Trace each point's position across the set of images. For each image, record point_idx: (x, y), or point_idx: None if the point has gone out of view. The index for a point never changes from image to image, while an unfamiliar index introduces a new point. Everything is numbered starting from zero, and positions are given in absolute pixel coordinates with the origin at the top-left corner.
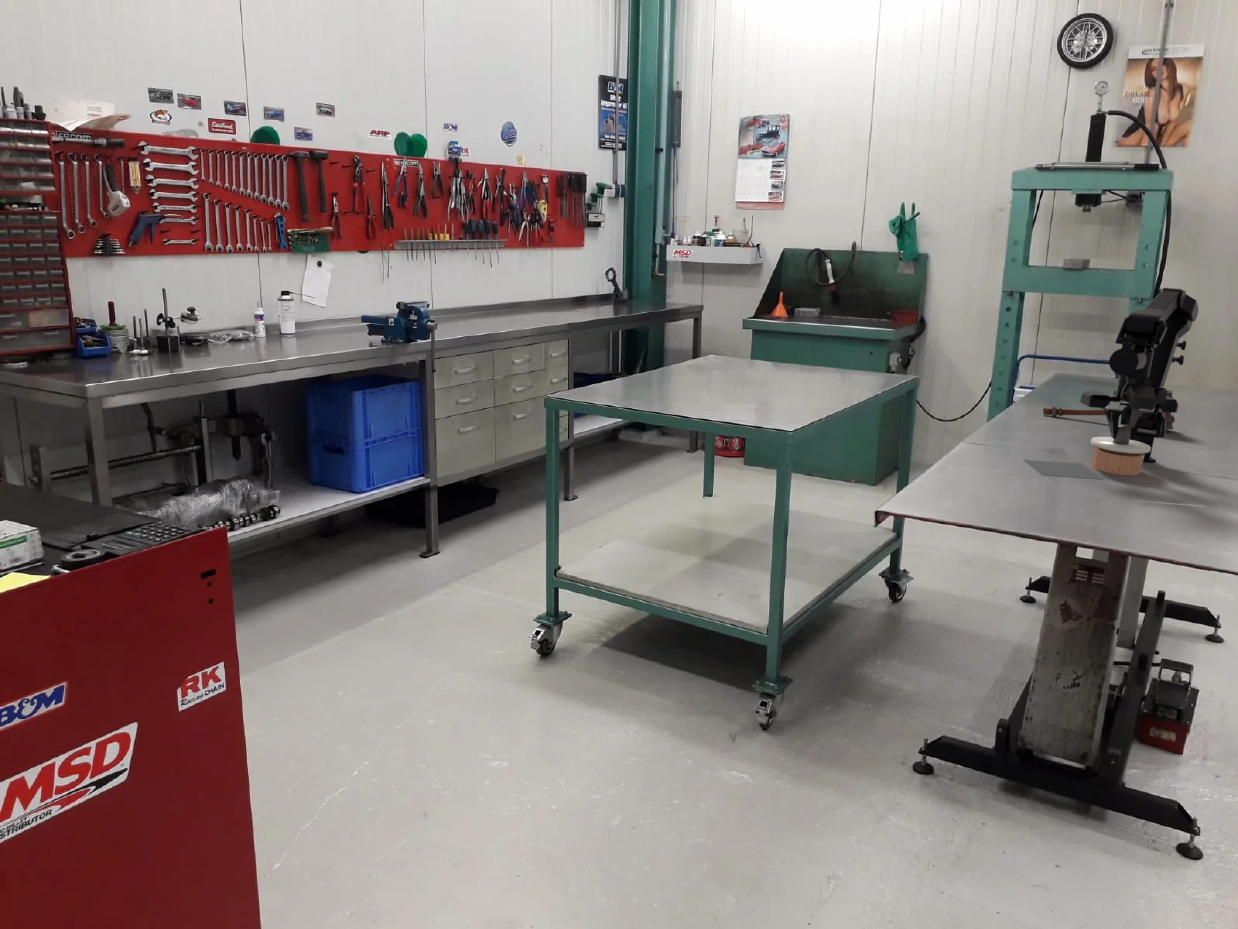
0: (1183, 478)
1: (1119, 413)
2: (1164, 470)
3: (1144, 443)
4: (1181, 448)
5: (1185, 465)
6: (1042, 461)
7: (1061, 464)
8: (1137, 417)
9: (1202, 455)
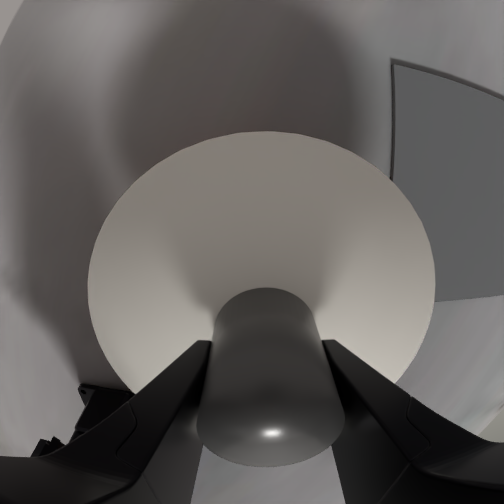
0: (32, 206)
1: (498, 473)
2: (66, 304)
3: (107, 356)
4: None
5: (20, 363)
6: (487, 289)
7: (455, 268)
8: (143, 499)
9: (9, 425)
